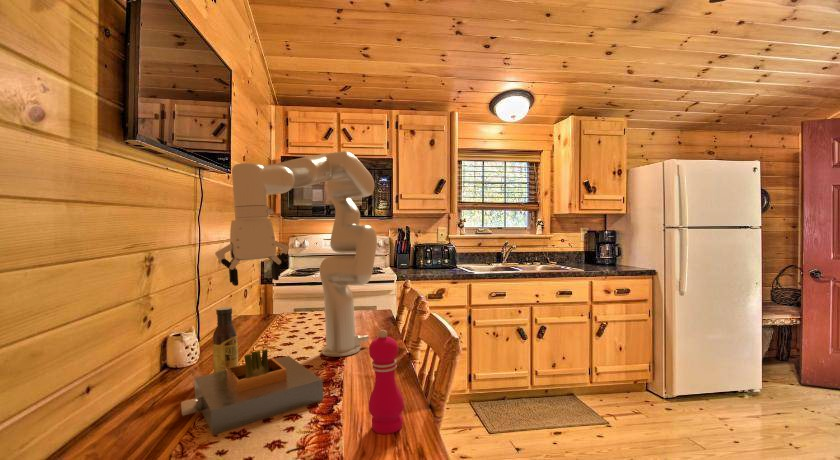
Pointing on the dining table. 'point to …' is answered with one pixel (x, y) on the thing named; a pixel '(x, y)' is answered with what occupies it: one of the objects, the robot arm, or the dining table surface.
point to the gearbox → (252, 394)
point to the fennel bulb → (256, 363)
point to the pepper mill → (385, 386)
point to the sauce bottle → (224, 341)
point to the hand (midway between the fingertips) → (256, 282)
